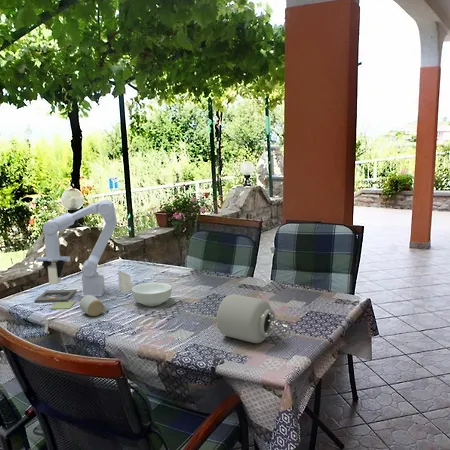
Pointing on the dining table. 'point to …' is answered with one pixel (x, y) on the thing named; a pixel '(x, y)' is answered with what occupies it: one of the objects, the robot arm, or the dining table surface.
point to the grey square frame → (55, 299)
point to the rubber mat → (62, 305)
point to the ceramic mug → (92, 305)
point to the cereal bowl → (151, 293)
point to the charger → (53, 274)
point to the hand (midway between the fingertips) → (54, 277)
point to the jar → (245, 318)
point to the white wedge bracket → (124, 282)
